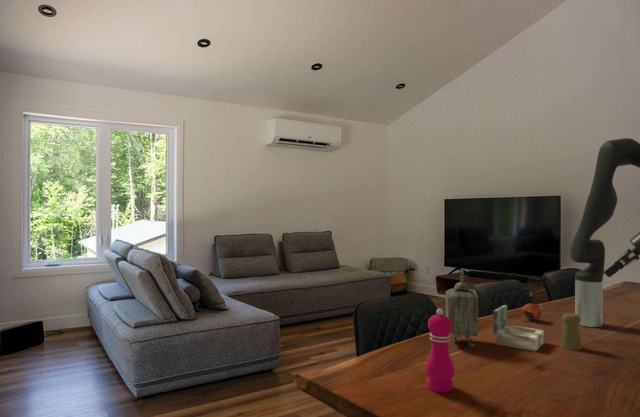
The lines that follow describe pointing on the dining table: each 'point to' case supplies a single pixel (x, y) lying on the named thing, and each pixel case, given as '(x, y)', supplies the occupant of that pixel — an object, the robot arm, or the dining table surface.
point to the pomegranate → (531, 312)
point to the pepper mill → (439, 354)
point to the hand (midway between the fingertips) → (608, 273)
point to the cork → (571, 332)
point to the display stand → (515, 333)
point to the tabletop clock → (462, 310)
